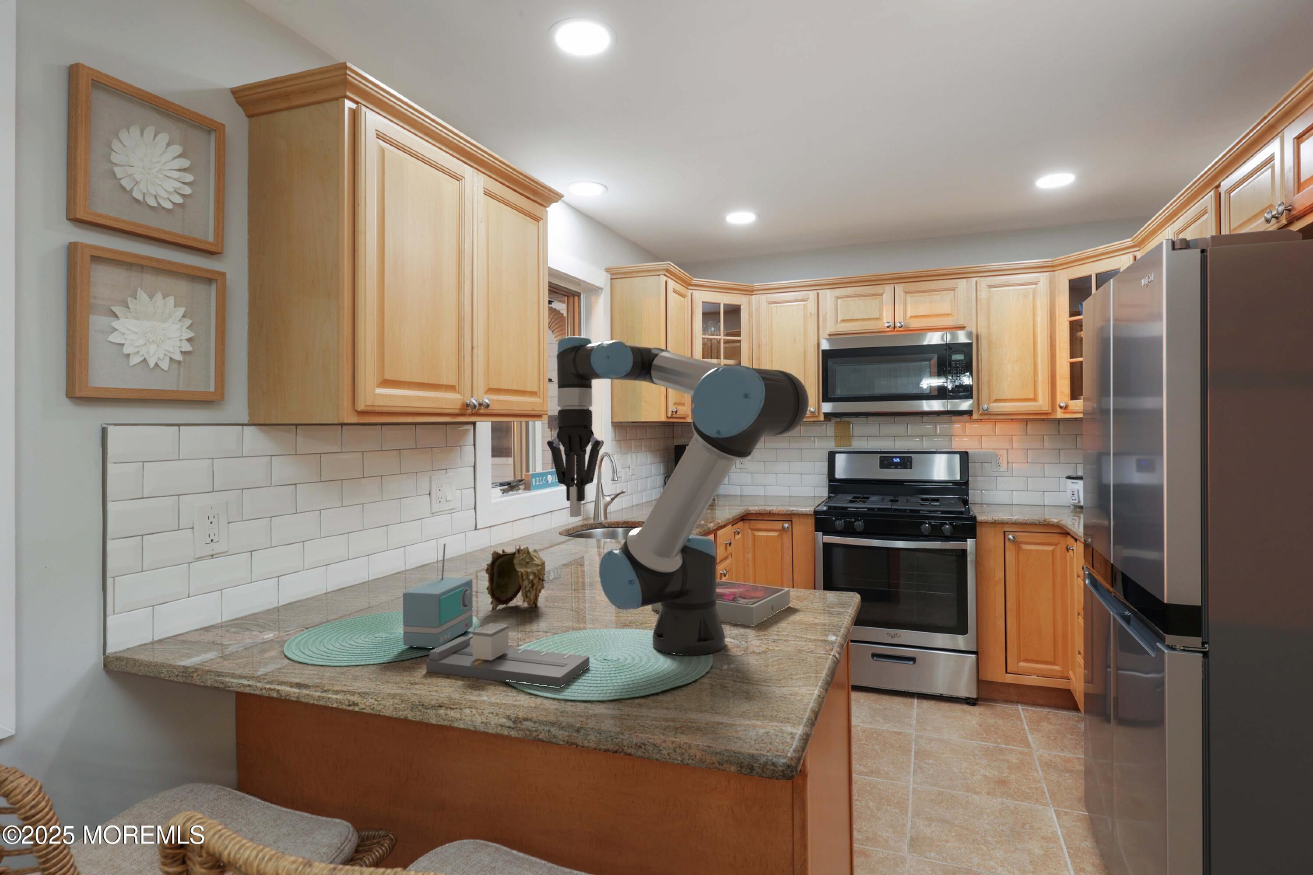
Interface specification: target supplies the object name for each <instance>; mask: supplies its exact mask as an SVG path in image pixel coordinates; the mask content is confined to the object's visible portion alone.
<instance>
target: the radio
mask: <svg viewBox="0 0 1313 875" xmlns="http://www.w3.org/2000/svg"><path fill="white" fill-rule="evenodd" d="M446 546H447V544H446V542H445V543H444V544H443V550H442V566H441V568H442V569H441V576H440V577H438V578H436V579H434V580H431V581H429V582H426V583H424V584H422V585H419V586H416V587H414V588H411V589H408V590H406V591H404V592H403V593H402V642H403V644H402V645H403V646H405V647H410V646H416V647H432V648H438V647H440V646H442V645H444V644H446V643H449V642H451V641H452V640H454V639H456V638H457V637H458V636H460V635H462V634H464V633H463V632H466V633H467V632H468V630H471V629H472V628H473V626H474V624H473V622H474V620H473V619H474V618H473V616H474V615H473V610H474V609H473V607H474V606H473V605H474V604H473V603H474V602H473V601H474V600H473V596H474V595H473V594H474V593H473V590H474V589H473V586H474V585H473V579H472V578H470V577H467V578H466V577H444V571H445V560H446V559H445V557H446Z"/></svg>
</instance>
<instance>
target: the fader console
mask: <svg viewBox="0 0 1313 875" xmlns="http://www.w3.org/2000/svg"><path fill="white" fill-rule="evenodd" d="M425 662H426V663H425V664H426V665H425V666H426V669H425V670H426V672H427V673H428V672H429V673H435V674H443V675H451V676H460V677H465V678H466V677H467V678H472V679H481V680H482V679H483V680H489V681H497V682H503V683H507V682H506V680H509V681H510V680H511V681H516V682H526V683H531V684H539V685H547V686H555V687H561V686H562V685H564V684H566V683H567V682H569V681H570V680H571V679H573V678H574V677H575V676H577V675H578V674H579V673H580V672H581V671H583V670H584V669H585V668H587V667H588V666H589V667H590V656H589V655H582V654H571V653H563V652H554V651H553V652H552V651H544V650H536V649H534V650H533V649H528V648H527V649H526V648H518V647H509V651H507V652H506V653H504V654H502V655H500V656H498V657H497V658H495V659H493V660H484V659H475V658H473V642H471V637H470V636H460V637H456V638H454V639H452V640H450V641H448V642H446V643H445V644H443V645H442V646H440V647H438V648H436V649H432V650H430V651H429V659H427V660H426V661H425ZM589 667H588V668H589ZM588 668H587V669H588ZM584 671H585V670H584ZM584 671H583V672H584ZM579 675H580V674H579ZM579 675H578V676H579ZM578 676H577V677H578ZM575 678H576V677H575ZM575 678H574V679H575ZM574 679H573V680H574ZM571 681H572V680H571ZM571 681H570V682H571ZM570 682H569V683H570ZM567 684H568V683H567ZM567 684H566V685H567Z"/></svg>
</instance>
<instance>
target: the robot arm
mask: <svg viewBox="0 0 1313 875" xmlns="http://www.w3.org/2000/svg"><path fill="white" fill-rule="evenodd" d="M556 366H557V368H556V369H557V372H556V374H557V375H556V377H557V378H556V379H557V407H558V408H560V409H558V410H557V426H558V427H557V428H558V430H557V432H556V436H555V437H554V438H553V439H551V440H547V442H546V445H547V447H548V448H549V450H550V452H551V456H552V461H553V464H554V465H553V466H554V470H555V474H556V479H557V482H558V483H559V484H561V485H564V487H565V490H566V491H565V493H566V495H565V496H566V501H567V502H569V517H570V518H578V517H582V502H585V500H586V486H587V485H589V484H593V482H594V479H595V474H596V470H597V467H598V466H597V465H598V460H599V455H600V451H601V449H602V448H603V446H604V443H605V441H604V440H603V439H599V438H597V437H596V436H595V434H594V431H593V411H592V409H590V408H592V406H593V384H592V383H593V381H594V380H619V381H620V380H621V381H637V382H646V383H649V384H652V385H656V386H661V387H664V388H666V389H670V390H673V391H677V392H679V393H682V394H686V395H689V396H691V404H692V405H693V406H692V407H691V410H690V411H691V417H692V421H691V428H692V432H693V434H694V435H693V437H692V438H691V440H690V442H689V443H688V446H687V447H686V448H685V451H684V453H683V455H682V456H681V458H680V459H679V461H678V463H677V465H676V466H675V468H674V470H673V472H672V473H671V475H670V477H669V478H668V481H666V484H665V486H664V488H663V489H662V491H661V492H660V495H659V497H658V498H657V500H656V501H655V504H654V505H653V507H652V508H651V510H650V512H649V514H648V516H647V518H646V519H645V521H644V523H643V525H642V526H640V527H636V528H634V529H632V530H631V531H630V532H629V533H628V534H627V537H626V539H625V540H624V542H623V543H622V544H621V547H619V548H612V549H610V550H607V551H606V552H604V554H603V556H602V557H601V559H600V561H599V567H598V568H599V569H598V570H599V571H598V572H599V574H598V575H599V580H600V586H601V589H602V591H603V593H604V596H605V597H606V599H607V600H608V602H609V603H610V604H611V605H612V606H614V607H615V608H617V609H618V610H622V611H628V610H638V609H640V608H643V607H647V606H651V605H652V604H656V603H660V602H661V608H660V611H658V612H659V613H658V616H657V619H656V622H655V624H654V625H655V626H654V629H653V632H652V646H654V647H655V648H654V649H656V648H657V649H658V650H657V649H656V650H657V651H659V650H661V651H660V652H662V651H664V652H663V653H665V652H667V653H666V654H669V653H675V654H682V655H681V656H701V654H704V655H708V654H707V653H710V654H713V653H717V652H719V651H721V650H723V649H724V648H725V646H726V644H725V643H726V637H725V636H726V635H725V631H724V628H723V626H722V621H720V619H719V616H718V612H717V609H716V580H717V558H718V557H717V555H716V554H717V553H716V550H717V549H716V543H715V541H714V540H713V539H712V538H710V537H708V536H704V535H703V536H702V535H694V534H693V535H692V533H693V531H694V529H695V528H696V527H697V525H698V523H699V522H700V520H701V519H702V518H703V516H704V514H705V512H706V510H707V509H708V507H709V506H710V505H711V503H712V502H713V500H714V497H715V496H716V494H717V493H718V491H719V489H720V488H721V486H722V485H723V483H724V481H725V480H726V478H727V477H728V475H729V473H730V472H731V470H732V469H733V467H734V465H735V464H736V462H737V461H738V460H743V459H747V458H749V457H750V456H751V455H752V453H753V451H754V450H755V448H756V447H757V446H758V444H759V442H760V441H761V440H762V438H763V437H774V436H775V437H777V436H784V435H786V434H789V433H791V432H793V431H795V429H797V428H798V427H799V426H801V424H802V423H803V422H804V420H805V419H806V416H807V414H808V411H809V406H810V405H809V404H810V403H809V400H810V399H809V394H808V391H807V388H806V387H805V384H804V383H803V382H802V381H801V380H800V379H799V378H798V377H797V376H795V375H794V374H792V373H791V372H787V371H785V370H781V369H780V370H779V369H771V368H770V369H769V368H757V367H750V366H746V365H741V364H738V365H737V364H736V365H734V364H733V365H723V364H720V363H715V362H711V361H708V360H702V359H700V358H699V359H698V358H695V357H691V356H687V355H682V354H678V353H674V352H671V351H670V350H668V349H665V348H661V347H648V346H638V345H637V346H636V345H632V344H626V343H624V342H623V341H621V340H604V341H602V342H601V341H600V342H597V343H592V340H591V339H590V338H588V337H585V336H565V337H561V338H560V339H559V340H558V341H557V354H556ZM589 445H590V449H589V454H588V457H587V458H588V459H587V458H586V456H587V448H588V447H589ZM561 446H562V448H563V453H562V449H561ZM563 455H564V457H563ZM586 459H587V460H586ZM586 461H587V462H586ZM675 654H674V655H675Z"/></svg>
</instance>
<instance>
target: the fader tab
mask: <svg viewBox="0 0 1313 875" xmlns="http://www.w3.org/2000/svg"><path fill="white" fill-rule="evenodd" d="M509 629H510V624H503V623H493V622H492V623H491V622H490V623H488V624H485V625H484V626H481V627H480V628H479V627H478V628H477V629H474V630H473V631H471V636H472V643H473V658H475V659H484V660H493V659H495V658H497V657H498V656H500V655H502V654H504V653H506V652H507V651H509V646H510V644H509V633H510V632H509Z"/></svg>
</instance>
